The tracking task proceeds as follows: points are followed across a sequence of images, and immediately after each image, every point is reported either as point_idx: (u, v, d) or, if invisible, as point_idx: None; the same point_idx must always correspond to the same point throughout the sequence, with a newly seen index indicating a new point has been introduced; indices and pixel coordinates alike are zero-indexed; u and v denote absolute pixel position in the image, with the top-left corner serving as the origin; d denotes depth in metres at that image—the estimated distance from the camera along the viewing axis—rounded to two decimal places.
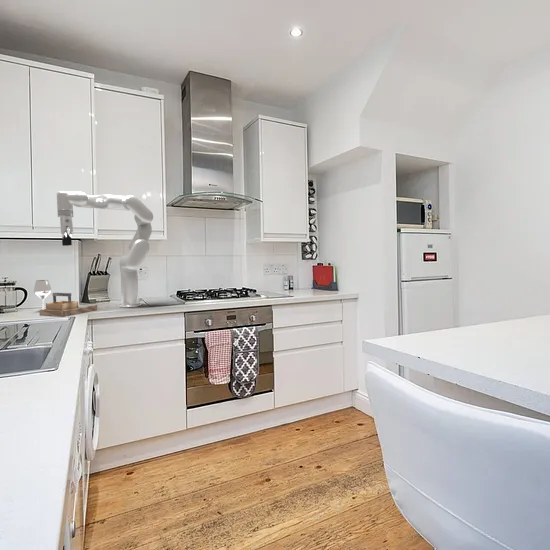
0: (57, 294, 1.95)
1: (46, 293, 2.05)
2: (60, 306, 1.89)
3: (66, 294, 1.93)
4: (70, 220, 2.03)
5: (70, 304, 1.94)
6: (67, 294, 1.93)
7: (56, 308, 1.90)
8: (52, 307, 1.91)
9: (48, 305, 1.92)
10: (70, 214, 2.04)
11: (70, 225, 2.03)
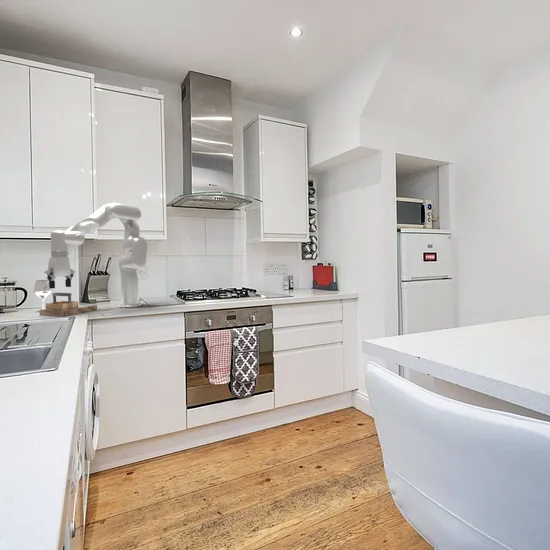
0: (57, 294, 1.95)
1: (46, 293, 2.05)
2: (60, 306, 1.89)
3: (66, 294, 1.93)
4: None
5: (70, 304, 1.94)
6: (67, 294, 1.93)
7: (56, 308, 1.90)
8: (52, 307, 1.91)
9: (48, 305, 1.92)
10: None
11: None
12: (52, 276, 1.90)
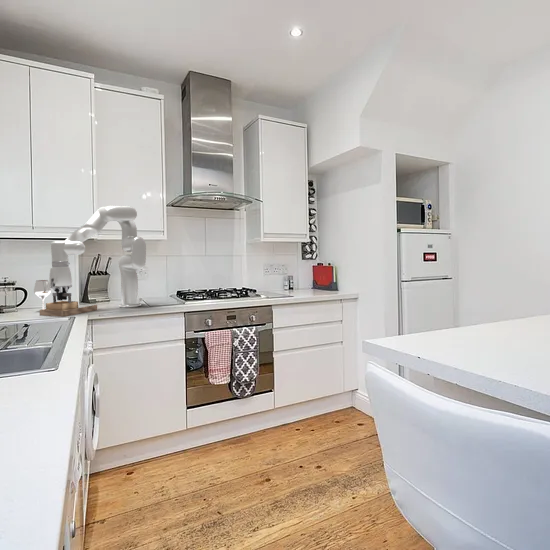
0: None
1: (46, 293, 2.05)
2: (60, 306, 1.89)
3: (66, 294, 1.93)
4: None
5: (70, 304, 1.94)
6: (67, 294, 1.93)
7: (56, 308, 1.90)
8: (52, 307, 1.91)
9: (48, 305, 1.92)
10: None
11: None
12: None
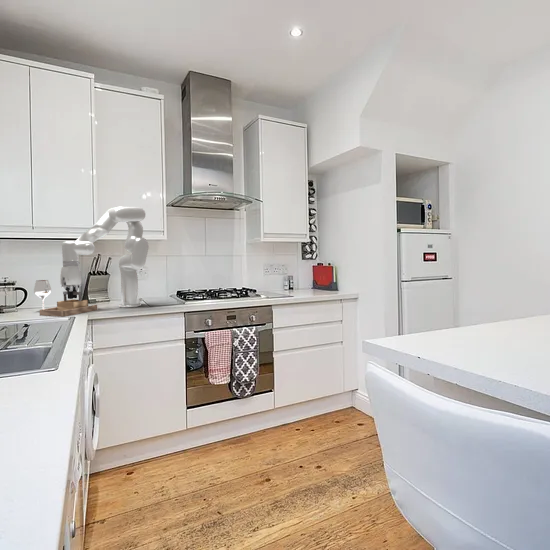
0: None
1: (46, 293, 2.05)
2: (71, 304, 1.95)
3: (76, 292, 1.99)
4: None
5: (80, 302, 2.00)
6: (77, 293, 1.99)
7: (67, 306, 1.96)
8: (63, 305, 1.97)
9: (59, 303, 1.98)
10: None
11: None
12: None
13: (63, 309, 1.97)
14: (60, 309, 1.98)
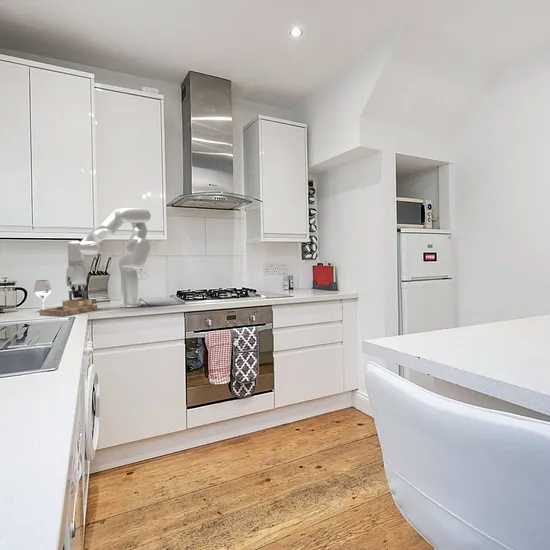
0: None
1: (46, 293, 2.05)
2: (76, 303, 1.99)
3: (82, 292, 2.02)
4: None
5: (85, 301, 2.03)
6: (83, 292, 2.02)
7: (72, 305, 2.00)
8: (68, 304, 2.01)
9: (65, 302, 2.01)
10: None
11: None
12: (73, 286, 2.03)
13: (69, 308, 2.01)
14: (66, 308, 2.01)
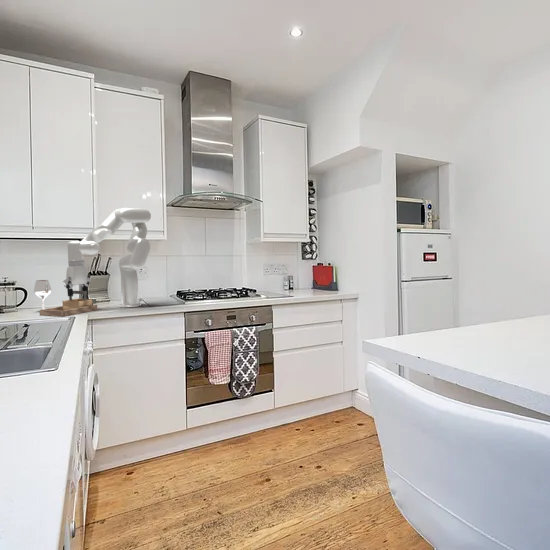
0: (73, 292, 2.04)
1: (46, 293, 2.05)
2: (76, 303, 1.99)
3: (82, 292, 2.02)
4: None
5: (85, 301, 2.03)
6: (83, 292, 2.02)
7: (72, 305, 2.00)
8: (68, 304, 2.01)
9: (65, 302, 2.01)
10: None
11: None
12: None
13: (69, 308, 2.01)
14: (66, 308, 2.01)
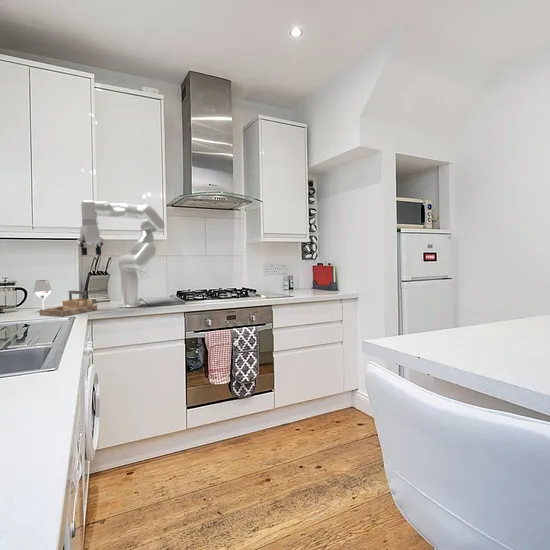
0: (73, 292, 2.04)
1: (46, 293, 2.05)
2: (76, 303, 1.99)
3: (82, 292, 2.02)
4: None
5: (85, 301, 2.03)
6: (83, 292, 2.02)
7: (72, 305, 2.00)
8: (68, 304, 2.01)
9: (65, 302, 2.01)
10: None
11: None
12: None
13: (69, 308, 2.01)
14: (66, 308, 2.01)
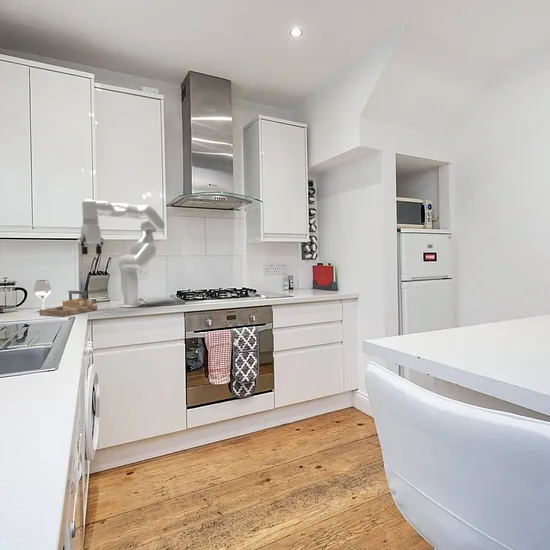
0: (73, 292, 2.04)
1: (46, 293, 2.05)
2: (76, 303, 1.99)
3: (82, 292, 2.02)
4: None
5: (85, 301, 2.03)
6: (83, 292, 2.02)
7: (72, 305, 2.00)
8: (68, 304, 2.01)
9: (65, 302, 2.01)
10: None
11: None
12: (84, 243, 2.01)
13: (69, 308, 2.01)
14: (66, 308, 2.01)
